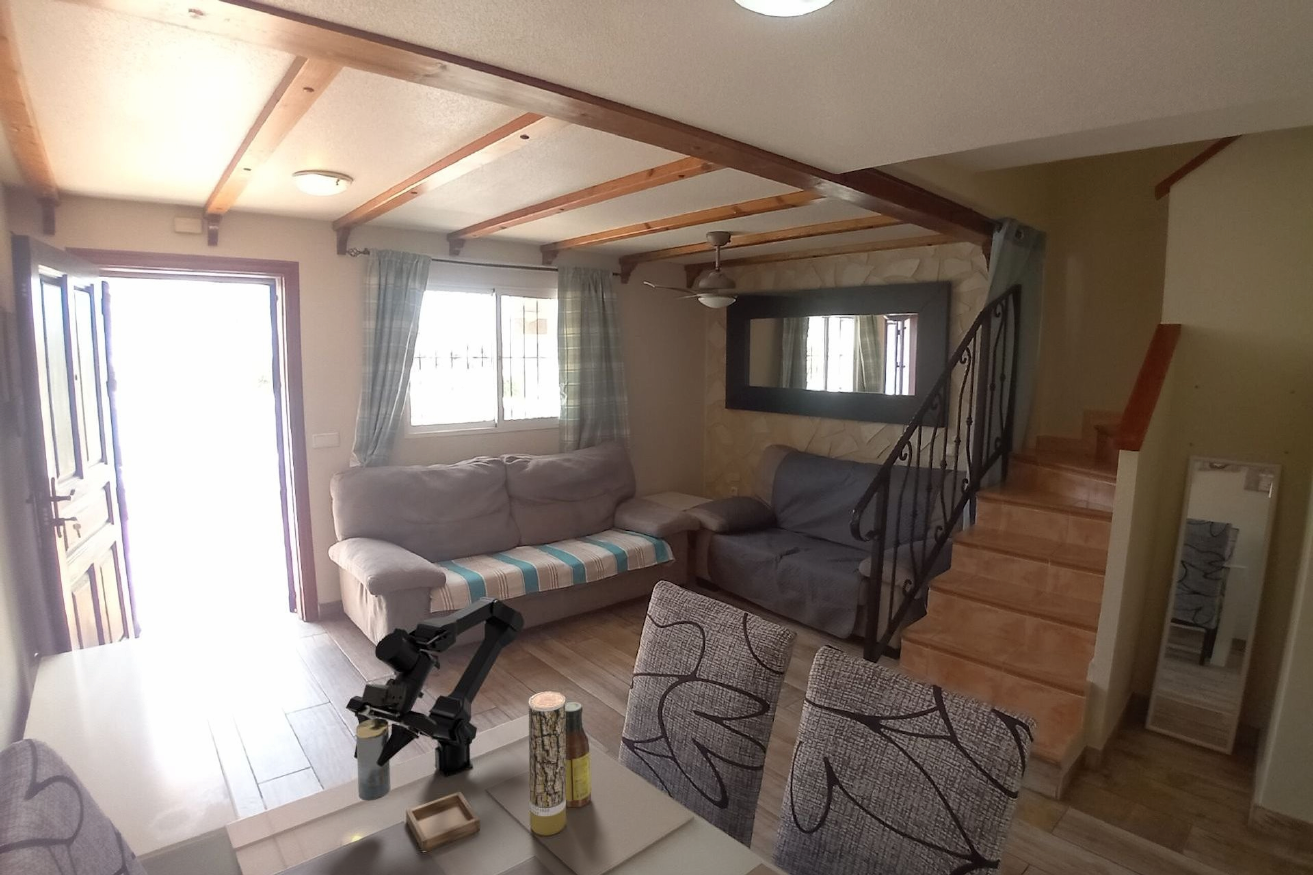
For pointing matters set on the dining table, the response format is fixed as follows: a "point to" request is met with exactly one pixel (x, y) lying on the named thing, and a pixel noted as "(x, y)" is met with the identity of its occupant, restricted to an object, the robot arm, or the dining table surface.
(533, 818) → the paper tube
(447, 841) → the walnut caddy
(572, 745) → the sauce bottle
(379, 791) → the tea tin
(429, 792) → the dining table surface
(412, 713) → the robot arm
